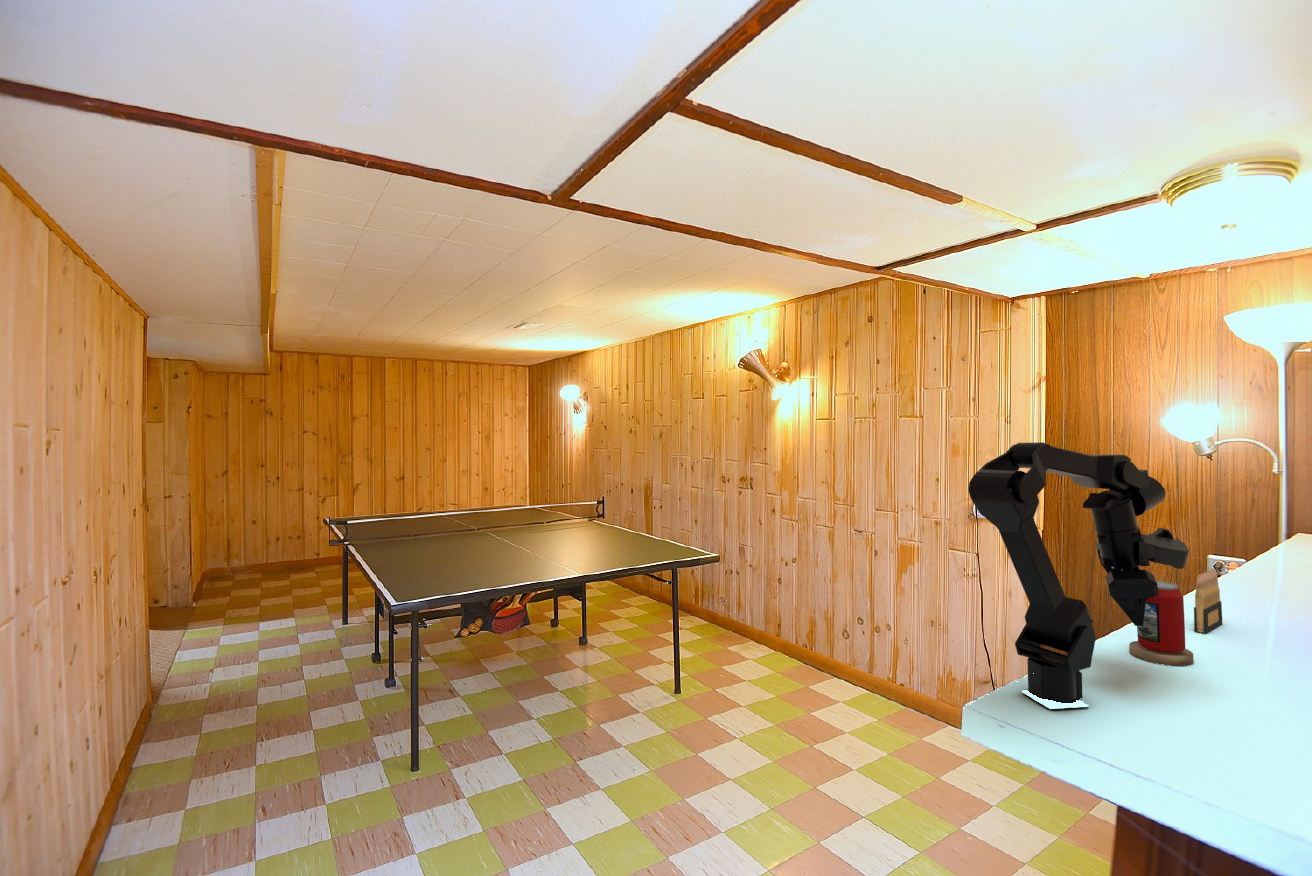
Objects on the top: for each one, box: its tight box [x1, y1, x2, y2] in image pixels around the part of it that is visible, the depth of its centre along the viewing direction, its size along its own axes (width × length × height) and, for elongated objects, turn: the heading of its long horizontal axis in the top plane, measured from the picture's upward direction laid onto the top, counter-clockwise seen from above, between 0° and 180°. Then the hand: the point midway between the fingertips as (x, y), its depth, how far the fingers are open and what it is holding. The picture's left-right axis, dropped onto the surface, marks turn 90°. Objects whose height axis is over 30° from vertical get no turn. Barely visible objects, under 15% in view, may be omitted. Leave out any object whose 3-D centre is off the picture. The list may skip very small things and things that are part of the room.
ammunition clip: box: [1193, 568, 1223, 635], centre depth 125 cm, size 11×2×12 cm, turn 123°
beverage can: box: [1136, 580, 1186, 654], centre depth 109 cm, size 7×7×12 cm
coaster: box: [1128, 640, 1194, 667], centre depth 109 cm, size 9×9×2 cm
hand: (1134, 612), depth 101 cm, fingers open, 9 cm apart
